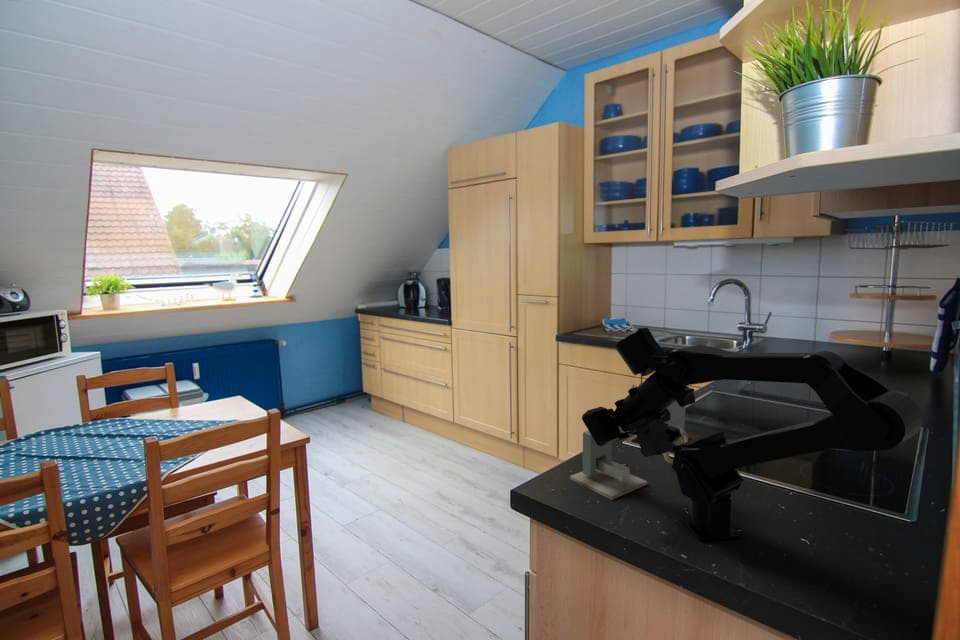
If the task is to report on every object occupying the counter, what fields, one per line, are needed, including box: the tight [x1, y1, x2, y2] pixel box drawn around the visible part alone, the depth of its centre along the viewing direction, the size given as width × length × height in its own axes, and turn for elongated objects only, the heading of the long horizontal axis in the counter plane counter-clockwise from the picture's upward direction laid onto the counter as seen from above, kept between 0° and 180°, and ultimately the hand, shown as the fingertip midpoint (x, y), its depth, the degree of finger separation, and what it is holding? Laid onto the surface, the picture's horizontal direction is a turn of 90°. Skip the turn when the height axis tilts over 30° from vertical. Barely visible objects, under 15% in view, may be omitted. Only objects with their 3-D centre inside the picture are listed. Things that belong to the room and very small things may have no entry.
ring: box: [662, 426, 689, 465], centre depth 103 cm, size 7×3×8 cm, turn 119°
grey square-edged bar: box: [581, 453, 630, 487], centre depth 96 cm, size 10×2×4 cm, turn 34°
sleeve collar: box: [582, 430, 613, 477], centre depth 98 cm, size 3×6×8 cm, turn 125°
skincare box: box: [666, 401, 687, 447], centre depth 115 cm, size 8×6×15 cm
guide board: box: [569, 470, 648, 501], centre depth 96 cm, size 10×10×1 cm
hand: (602, 438), depth 96 cm, fingers closed
